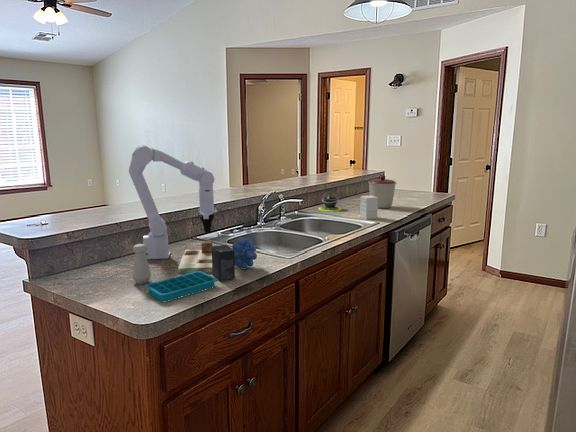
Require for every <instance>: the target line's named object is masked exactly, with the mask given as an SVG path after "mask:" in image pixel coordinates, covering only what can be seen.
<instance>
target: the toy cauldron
mask: <svg viewBox="0 0 576 432" xmlns="http://www.w3.org/2000/svg"><path fill="white" fill-rule="evenodd" d="M327 192H328V191H327ZM327 194H328V195H327V196H326V193H325V194H324V195H325V196H324V197H321V201H322V202H323V205H324V206H321V207H318V210H319V211H323V212H341V211H342V210H343V209H342V208H341V207H338V206H337V205H338V200H339V199H340V198H339V197H337V196H336V194H333V196H331V195H329V194H330V192H328V193H327Z"/></svg>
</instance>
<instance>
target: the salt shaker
mask: <svg viewBox="0 0 576 432" xmlns="http://www.w3.org/2000/svg"><path fill="white" fill-rule="evenodd" d="M146 251H147V247H146V245H145V244H143V243H137V244H135V245H133V247H132V252H133V253H135V254H134V261H133V271H132V276H131V277H132V279H133V280H134V282H135V284H136V285H147V284H149V282H150V278H151V276H152V275H151V270H150V267H149V261H148V259H147V257H146V253H145V252H146Z"/></svg>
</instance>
